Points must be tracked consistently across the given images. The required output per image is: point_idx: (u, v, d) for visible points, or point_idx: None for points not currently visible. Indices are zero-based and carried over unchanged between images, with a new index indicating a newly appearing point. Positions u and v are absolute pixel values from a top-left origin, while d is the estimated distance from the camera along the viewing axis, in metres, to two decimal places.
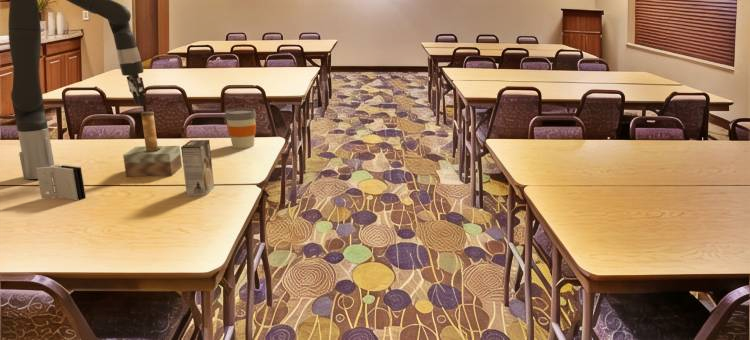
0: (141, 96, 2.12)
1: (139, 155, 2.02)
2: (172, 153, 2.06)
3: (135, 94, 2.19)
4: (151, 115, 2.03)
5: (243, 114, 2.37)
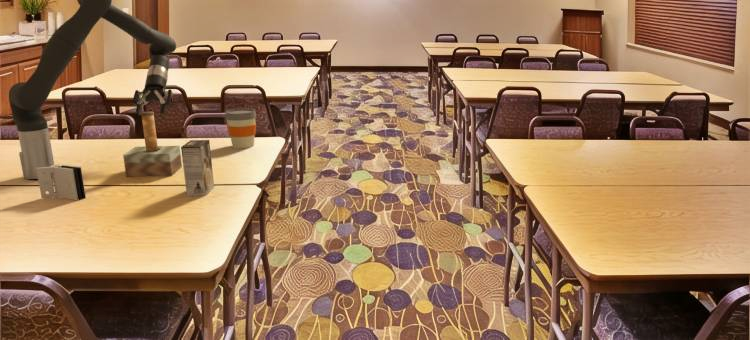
0: (165, 105, 2.20)
1: (139, 155, 2.02)
2: (172, 153, 2.06)
3: (141, 106, 2.19)
4: (151, 115, 2.03)
5: (243, 114, 2.37)
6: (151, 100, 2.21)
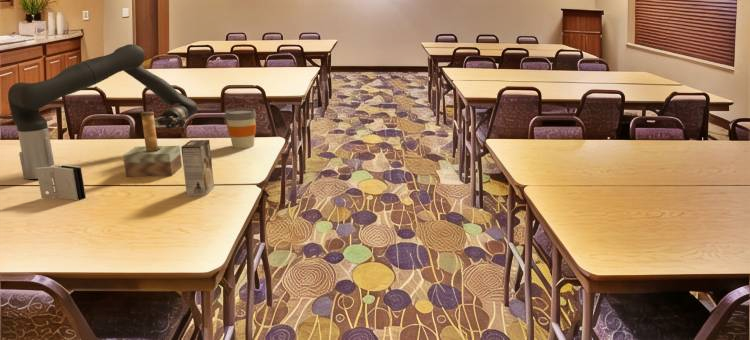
0: (177, 123, 2.20)
1: (139, 155, 2.02)
2: (172, 153, 2.06)
3: None
4: (151, 115, 2.03)
5: (243, 114, 2.37)
6: (164, 122, 2.23)
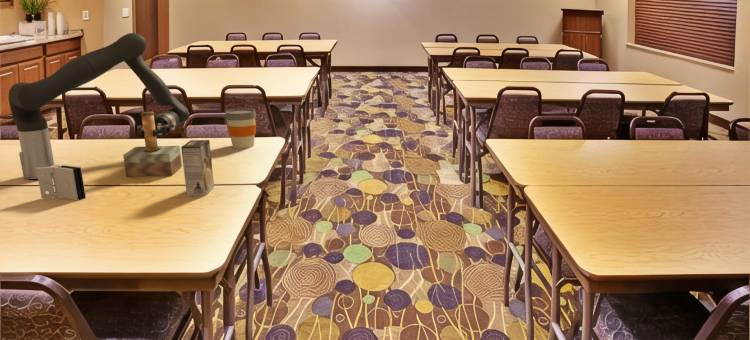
0: (159, 131, 2.07)
1: (139, 155, 2.02)
2: (172, 153, 2.06)
3: None
4: (151, 115, 2.03)
5: (243, 114, 2.37)
6: (155, 129, 2.11)
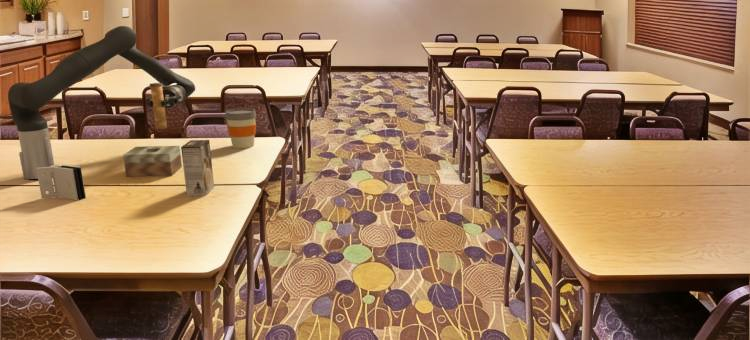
0: (167, 102, 2.16)
1: (139, 155, 2.02)
2: (172, 153, 2.06)
3: None
4: (159, 86, 2.12)
5: (243, 114, 2.37)
6: None
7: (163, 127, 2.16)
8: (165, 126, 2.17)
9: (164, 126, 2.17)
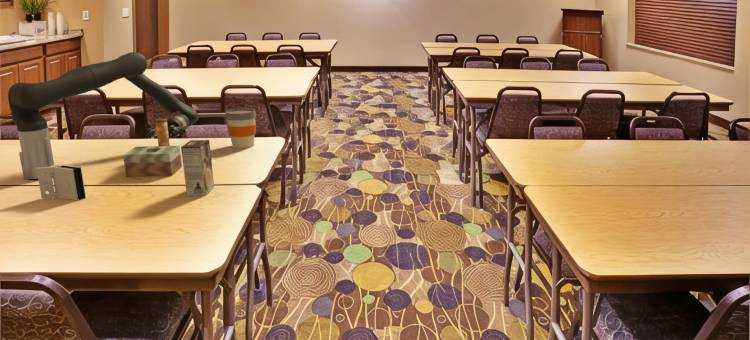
0: (178, 132, 2.21)
1: (139, 155, 2.02)
2: (172, 153, 2.06)
3: (153, 133, 2.21)
4: (164, 122, 2.17)
5: (243, 114, 2.37)
6: None
7: None
8: None
9: None
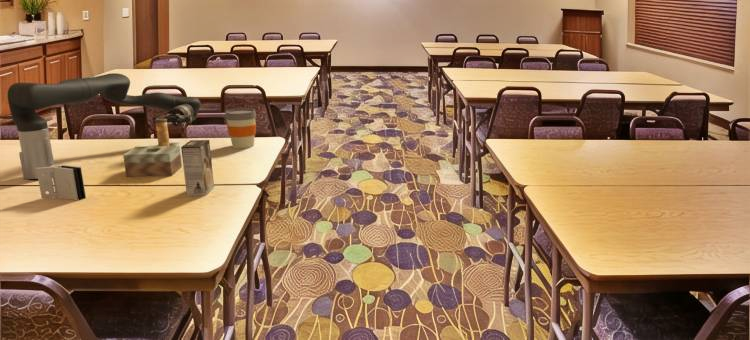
0: (183, 120, 2.28)
1: (139, 155, 2.02)
2: (172, 153, 2.06)
3: None
4: (164, 122, 2.17)
5: (243, 114, 2.37)
6: (170, 119, 2.30)
7: None
8: None
9: None
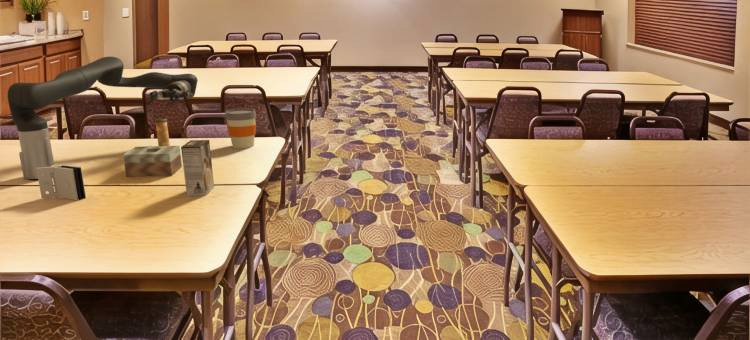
0: (180, 95, 2.25)
1: (139, 155, 2.02)
2: (172, 153, 2.06)
3: (156, 95, 2.25)
4: (164, 122, 2.17)
5: (243, 114, 2.37)
6: (167, 94, 2.28)
7: None
8: None
9: None
